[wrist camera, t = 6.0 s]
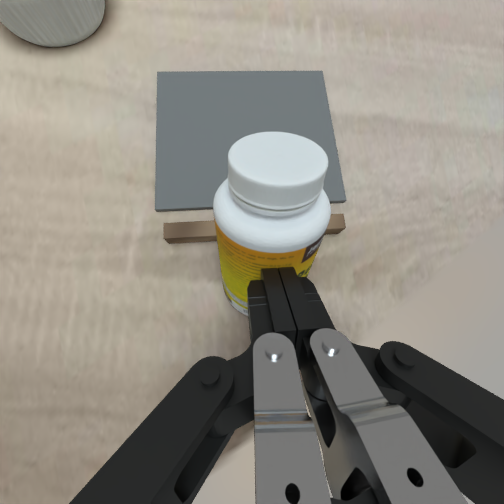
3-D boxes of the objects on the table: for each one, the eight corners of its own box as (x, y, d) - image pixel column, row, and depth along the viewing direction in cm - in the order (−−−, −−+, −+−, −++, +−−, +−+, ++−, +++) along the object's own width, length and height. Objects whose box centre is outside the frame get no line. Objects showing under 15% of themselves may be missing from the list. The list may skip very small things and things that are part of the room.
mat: (156, 211, 19) (155, 209, 19) (158, 75, 22) (157, 71, 22) (344, 202, 20) (346, 200, 20) (320, 74, 23) (322, 70, 23)
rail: (169, 243, 19) (163, 238, 17) (169, 229, 19) (163, 223, 17) (338, 233, 20) (345, 227, 18) (336, 220, 20) (343, 213, 18)
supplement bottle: (292, 332, 15) (348, 216, 7) (211, 309, 16) (178, 180, 8) (304, 265, 18) (352, 133, 10) (237, 248, 19) (233, 114, 11)
